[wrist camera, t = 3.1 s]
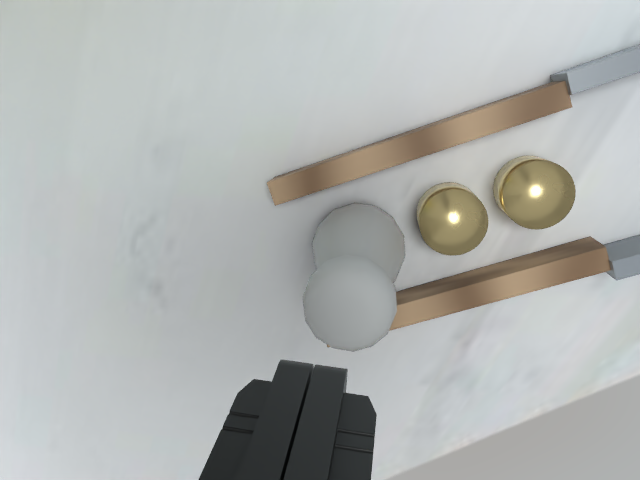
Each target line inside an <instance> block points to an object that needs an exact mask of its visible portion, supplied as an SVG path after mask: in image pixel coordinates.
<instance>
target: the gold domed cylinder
mask: <svg viewBox="0 0 640 480" xmlns="http://www.w3.org/2000/svg"><path fill="white" fill-rule="evenodd" d="M493 193H494V198H495V201H496V203H497V205H498V206H499V207H500V209H501V210H502V211H503V212H505V213H506V214H507V215H508V216H509V217H510V218H511V219H512V220H513V221H514V222H515V223H517V224H518V225H520V226H522V227H525V228H529V229H544V228H548V227H551V226H553V225H555V224H557V223H559V222H560V221H561V220H562V219H564V218H565V217H566V215H567V214H568V213H569V211H570V210H571V208H572V206H573V203H574V200H575V185H574V182H573V179H572V177H571V176H570V174H569V173H568V172H567V171H566V170H565V169H564V168H563V167H561V166H560V165H558V164H556V163H553V162H550V161H548V160H545V159H543V158H540V157H537V156H521V157H517V158H515V159H513V160H511V161H509V162H508V163H506V164H505V165H504V166H503V167H502V168H501V169H500V171H499V172H498V174H497V176H496V178H495V181H494V186H493Z"/></svg>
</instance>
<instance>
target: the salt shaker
mask: <svg viewBox="0 0 640 480" xmlns="http://www.w3.org/2000/svg"><path fill="white" fill-rule="evenodd" d="M312 247H313V254H314V262H315V266H316V271H315V272H314V273H313V274H312V275H311V277H310V279H309V281H308V284H307V287H306V289H305V292H304V294H303V305H304V313H305V320H306V322H307V324H308V326H309V327H310V329H311V330H312V332H313V333H314V335H315V337H316V338H318V339H319V340H321V341H322V342H324V343H326V344H327V345H329V346H331V347H332V348H335V349H341V350H347V351H357V350H360V349H364V348H368V347H371V346H373V345H374V344H376V343H377V342H378V341H379V340H381V339H382V338H383V337H384V336H386V335H387V334H388V331H389V329H390V327H391V324H392V322H393V319H394V317H395V315H396V312H397V302H396V290H395V286H394V284H393V283H394V281H395V279H396V277H397V275H398V273H399V270H400V268H401V265H402V263H403V261H404V258H405V244H404V235H403V234H402V232H401V230H400V229H399V227H398V225H397V224H396V222H395V220H394V219H393V217H391V216H390V215H388V214H387V213H385V212H384V211H382V210H381V209H379V208H378V207H376V206H373V205H366V204H358V203H353V204H350V205H347V206H344V207H341V208H337V209H335V210H333V211H332V212H331V213H330V214H329V215H328V216H327V217H326V218H325V219H324V220H323V221H322V222H321V223H320V224H319V226H318V229H317V231H316V234H315V236H314V239H313V242H312Z"/></svg>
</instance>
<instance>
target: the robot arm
mask: <svg viewBox="0 0 640 480" xmlns="http://www.w3.org/2000/svg"><path fill="white" fill-rule="evenodd" d="M346 383H347V369H343V368H336V367H329V366H322V365H315V366H314V367H313V364H309V363H302V362H295V361H288V360H280V362H279V364H278V367H277V370H276V372H275V375H274V378H273V380H272V382H270V381H263V380H256V379H253V380H252V381H251V382H250V383H249V384H248V385H247V386H245V387H244V388H243V389H242V390H241V391H240V392H239V393H238V394H237V396H236V398H235V400H234V403H233V405H232V407H231V409H230V413H229V415H228V416H227V418H226V420H225V423H224V425H223V429H222V430H221V431H220V434H219V436H218V438H217V440H216V442H215V445H214V447H213V449H212V451H211V454H210V456H209V458H208V460H207V462H206V465H205V467H204V469H203V471H202V473H201V476H200V478H199V480H371V471H372V460H373V449H374V436H375V426H376V412H375V410H374V408H373V406H372V404H371V401H370V399H369V397H368V396H363V395H356V394H349V393H346Z"/></svg>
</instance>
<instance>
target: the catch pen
mask: <svg viewBox="0 0 640 480" xmlns="http://www.w3.org/2000/svg"><path fill="white" fill-rule="evenodd" d="M638 72H640V44H639V45H637V46H634V47H631V48H628V49H625V50H622V51H619V52H616V53H613V54H610V55H608V56H605V57H602V58H599V59H596V60H593V61H590V62H587V63H584V64H582V65H579V66H576V67H573V68H570V69H567V70H564V71H561V72H558V73H555V74H553V75H550V76H551V80H552V82H558V81H566V85H567V89H568V93H569V95H572V94H575V93H578V92H581V91H584V90H587V89H590V88H593V87H596V86H599V85H602V84H605V83H608V82H611V81H614V80H617V79H620V78H623V77H626V76H629V75H632V74H635V73H638ZM604 246H605V247H606V249H607V253H608V257H609V263H610V267H611V270H610V271H606V273H608V274H609V275H610V276H612V277H613V278H614V279H615V280H620V279H623V278H627V277H631V276H635V275H638V274H640V235H637V236H634V237H630V238H627V239H623V240H620V241H616V242H612V243H609V244H605V245H604Z"/></svg>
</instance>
